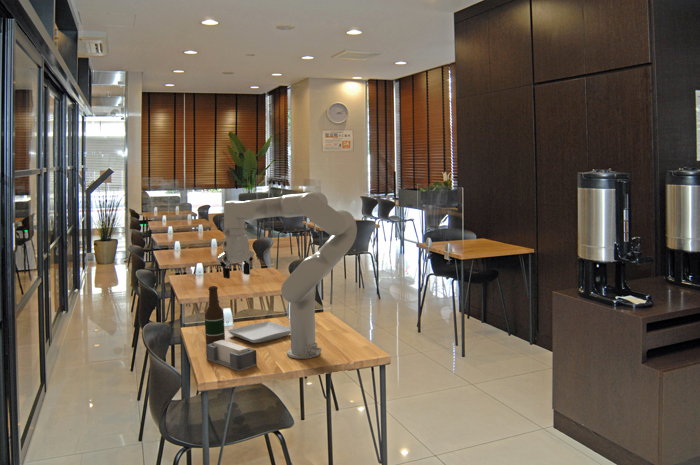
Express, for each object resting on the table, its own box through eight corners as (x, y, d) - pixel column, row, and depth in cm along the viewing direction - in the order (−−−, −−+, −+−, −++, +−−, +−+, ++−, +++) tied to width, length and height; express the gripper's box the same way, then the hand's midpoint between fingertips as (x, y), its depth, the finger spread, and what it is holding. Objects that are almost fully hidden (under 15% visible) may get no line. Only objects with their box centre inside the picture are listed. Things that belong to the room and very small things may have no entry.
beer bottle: (207, 347, 224) (204, 289, 221) (204, 342, 231) (201, 285, 228) (226, 345, 227) (224, 287, 224) (223, 340, 234) (220, 284, 231)
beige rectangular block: (248, 363, 202) (248, 347, 201) (240, 366, 199) (239, 350, 198) (223, 354, 213) (222, 339, 212) (214, 357, 210) (213, 342, 209)
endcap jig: (256, 365, 202) (256, 350, 201) (238, 371, 196) (238, 355, 196) (224, 354, 215) (223, 340, 215) (206, 359, 209) (205, 345, 209)
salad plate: (226, 337, 240) (226, 329, 239) (268, 327, 254) (268, 320, 253) (253, 347, 224) (252, 339, 224) (295, 336, 238) (295, 329, 238)
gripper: (222, 235, 206) (224, 280, 208) (258, 231, 219) (260, 273, 221) (210, 234, 211) (212, 278, 213) (246, 230, 224) (248, 272, 226)
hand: (236, 276), depth 217 cm, fingers open, 9 cm apart
